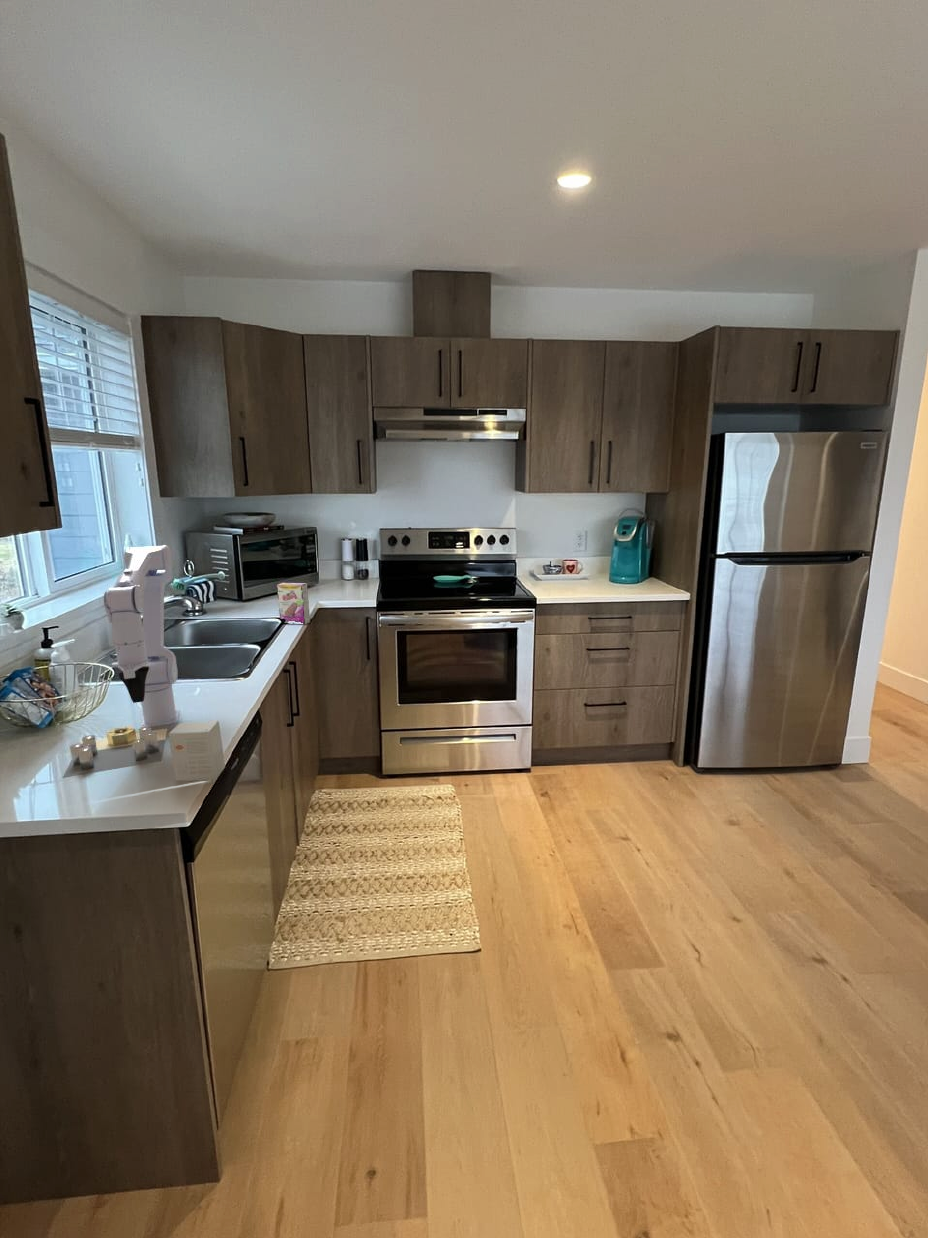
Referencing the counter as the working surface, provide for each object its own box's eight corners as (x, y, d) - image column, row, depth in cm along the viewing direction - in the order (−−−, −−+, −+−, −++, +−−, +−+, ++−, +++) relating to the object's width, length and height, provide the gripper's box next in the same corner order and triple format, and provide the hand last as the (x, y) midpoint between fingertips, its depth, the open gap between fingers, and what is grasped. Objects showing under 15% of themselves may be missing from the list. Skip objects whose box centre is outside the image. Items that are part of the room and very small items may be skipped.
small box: (226, 768, 129) (219, 720, 127) (216, 781, 123) (209, 731, 121) (186, 770, 129) (179, 721, 126) (175, 783, 123) (167, 733, 121)
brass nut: (109, 739, 144) (108, 728, 144) (137, 735, 146) (136, 724, 146) (106, 747, 140) (104, 737, 139) (135, 743, 142) (133, 732, 141)
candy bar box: (279, 624, 255) (276, 584, 251) (286, 621, 259) (282, 582, 256) (305, 625, 252) (301, 584, 248) (311, 622, 257) (307, 582, 253)
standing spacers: (78, 754, 137) (75, 737, 136) (161, 741, 142) (158, 724, 141) (69, 772, 128) (65, 754, 127) (157, 758, 134) (154, 740, 133)
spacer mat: (81, 743, 144) (81, 741, 143) (167, 729, 150) (167, 728, 150) (62, 779, 126) (62, 777, 126) (161, 762, 132) (161, 760, 132)
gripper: (114, 637, 142) (122, 694, 144) (103, 651, 128) (113, 714, 131) (148, 633, 144) (156, 690, 147) (141, 647, 131) (150, 709, 134)
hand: (138, 701), depth 139 cm, fingers closed
